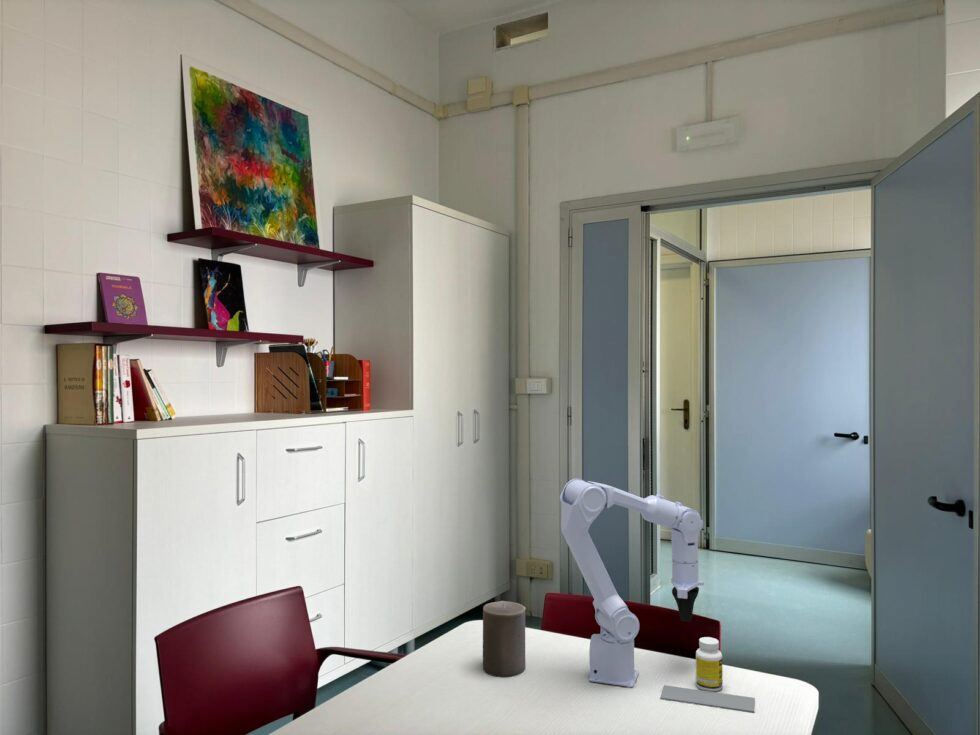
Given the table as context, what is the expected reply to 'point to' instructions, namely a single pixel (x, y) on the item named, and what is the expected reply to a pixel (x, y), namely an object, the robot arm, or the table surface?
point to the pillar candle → (504, 639)
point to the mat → (708, 698)
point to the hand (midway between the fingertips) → (686, 620)
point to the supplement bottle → (709, 665)
